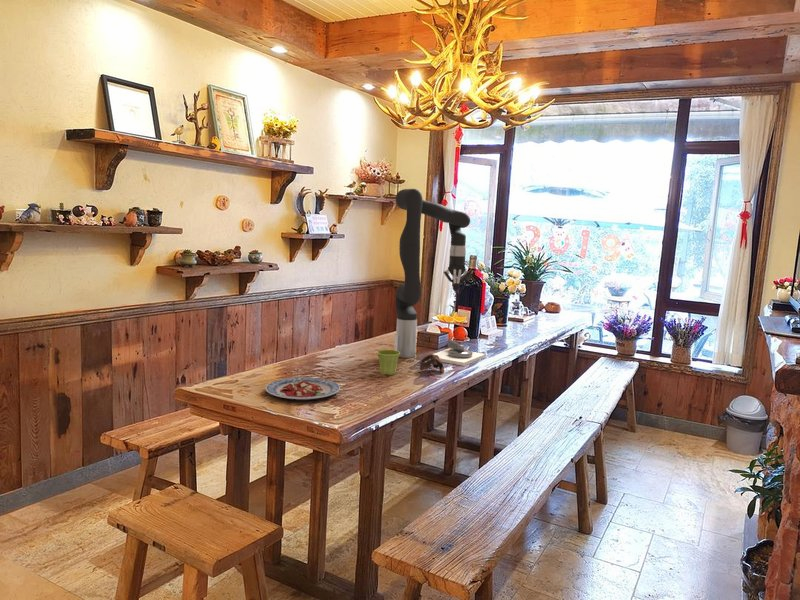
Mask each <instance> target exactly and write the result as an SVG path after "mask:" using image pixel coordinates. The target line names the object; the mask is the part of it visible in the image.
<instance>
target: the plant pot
mask: <svg viewBox="0 0 800 600" xmlns="http://www.w3.org/2000/svg"><path fill="white" fill-rule="evenodd" d="M376 354H377V357H378V363H379V372H380V374H381V375H383V376H384V375H388V376H392V375H395V374H396V371H397V367H398V366H397V365H398V360H399V359H398V358H400V357H399V354H400V352H399V351H395V349H382V350H377V351H376Z"/></svg>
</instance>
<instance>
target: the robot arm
mask: <svg viewBox="0 0 800 600" xmlns="http://www.w3.org/2000/svg"><path fill="white" fill-rule="evenodd" d="M395 203H396V206H397V207H398V208H399V209H401V210H403V211H404V210H405V211H406V220H405V221H406V222H405V224H404V228H403V230H402V232H401V235H400V237H399V243H398V244H399V248H398V249H399V250H398V251H399V258H400V261H401V265H402V268H403V272H404V273H403V274H404V282H402V283H400V284H399V285H398V286H397V288H396V291H395V313H396V328H395V329H396V331H395V332H396V333H395V334H394V350H395V351H399V352H400V354H399V357H398V358H406V359H407V358H409V359H410V358H414V357H416V355H417V353H416V352H417V350H416V348H417V331H418V330H417V328H418V312H417V311H416V310H415V307H414V306H415V305H417V304H418V303H419V302H420V300H421V297H422V288H421V287H422V285H421V276H420V275H421V272H420V267H421V263H420V262H421V261H420V260H421V258H420V257H421V221H422V215H426V216H428V217H429V218H433V219H434V220H437V221H440V222H442V223H447V224H448V228H449V233H450V234H449V235H450V246H449V247H450V248H449V259H448V260H449V262H448V263H449V264H448V267H447V269H446V270H444V271H443V275H444V277H446V278H447V280H448V281H449V282H451V283H452V290H453V292H458V291H459V290H460V283H464V281H466V279H467V278H468V277H469V275H470V272H469V271H468V270H466V269H467V268H466V255H467V254H466V253H467V251H466V243H467V241H466V234H465V233H463V232H462V229H464V228H467V227H468V226H470V224H471V217H470V216H469V215H468V214H467V213H466V212H463V211H459V210H457V209H456V210H455V209H452V208H451V207H448V206H445V205H443V204H440V203H437V202H434V201H433V202H432V201H428V200H425V199H423V195H422V193H421V191H420V190H419V189H417V188H403V189H401V190H399V191H398V192H397V193H396V195H395ZM449 274H450V275H449ZM451 276H452V277H451Z"/></svg>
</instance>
